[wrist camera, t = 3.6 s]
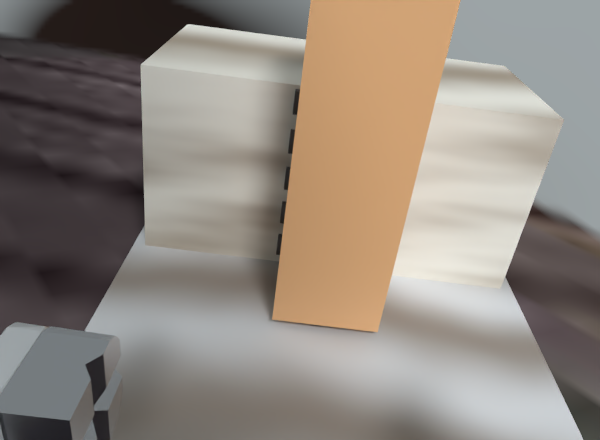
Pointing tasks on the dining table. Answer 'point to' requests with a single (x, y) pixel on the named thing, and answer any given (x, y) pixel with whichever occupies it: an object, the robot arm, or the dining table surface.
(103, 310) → the block
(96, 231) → the dining table surface
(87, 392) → the robot arm
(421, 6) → the tan rectangular block
